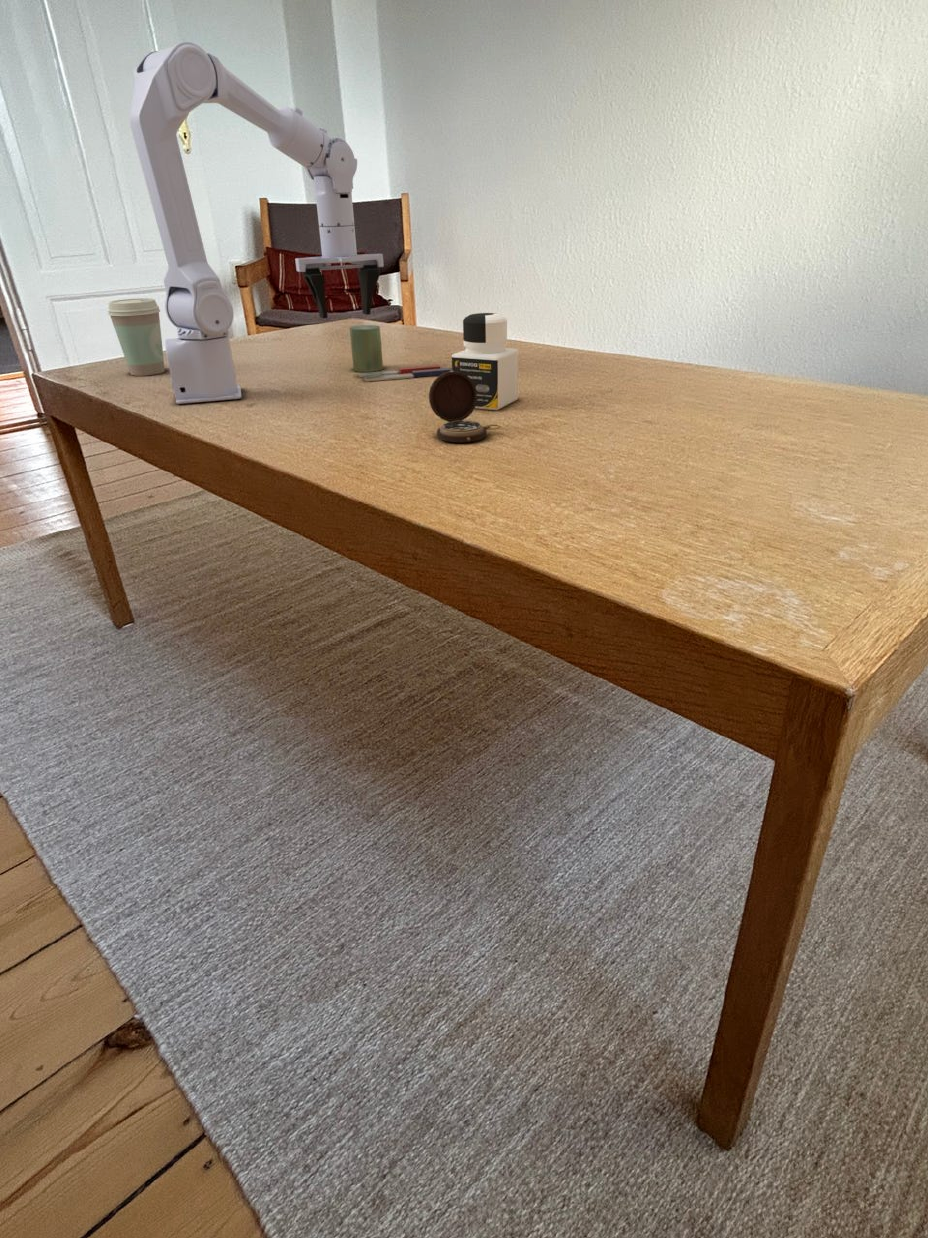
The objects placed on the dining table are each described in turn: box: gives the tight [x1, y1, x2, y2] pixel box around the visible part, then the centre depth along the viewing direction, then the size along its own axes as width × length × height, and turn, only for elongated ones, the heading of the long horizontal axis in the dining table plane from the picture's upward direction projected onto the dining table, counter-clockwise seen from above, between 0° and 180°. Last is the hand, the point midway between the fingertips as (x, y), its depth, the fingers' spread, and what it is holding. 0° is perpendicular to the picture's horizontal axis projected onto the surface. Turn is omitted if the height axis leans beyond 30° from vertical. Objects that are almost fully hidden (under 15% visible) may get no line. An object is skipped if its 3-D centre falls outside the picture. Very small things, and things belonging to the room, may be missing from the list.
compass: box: [428, 370, 501, 444], centre depth 92 cm, size 8×8×7 cm
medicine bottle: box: [451, 312, 519, 411], centre depth 105 cm, size 7×7×12 cm
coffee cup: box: [107, 297, 166, 377], centre depth 132 cm, size 8×8×12 cm
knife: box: [364, 367, 452, 383], centre depth 125 cm, size 15×2×1 cm, turn 105°
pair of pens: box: [357, 364, 441, 379], centre depth 128 cm, size 14×2×1 cm, turn 105°
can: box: [349, 324, 384, 373], centre depth 131 cm, size 5×5×7 cm
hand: (345, 315), depth 128 cm, fingers open, 7 cm apart
